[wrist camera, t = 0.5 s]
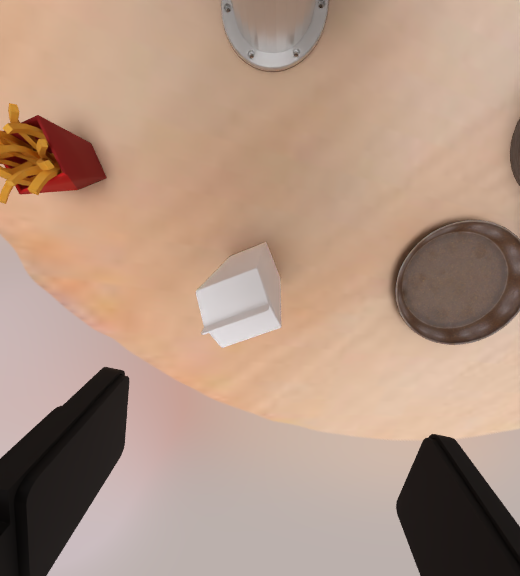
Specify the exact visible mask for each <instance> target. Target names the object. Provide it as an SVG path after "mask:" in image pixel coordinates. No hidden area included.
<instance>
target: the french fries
mask: <svg viewBox="0 0 520 576" xmlns="http://www.w3.org/2000/svg"><path fill="white" fill-rule="evenodd" d="M8 112H9V118H10V122H11V123H8V124H6V125H5V126H4V127H3V129H4V130H5V131H0V164H4V165H5V167H6V168H3V167H1V166H0V176H1V177H3V178H5V179H7V180H6V183H5V185H4V187H3V189H2V191H1V194H0V202H2V203H5V204H6V202H7V199H8V196H9V194H10V192H11V190H12V188H13V186H16V188H17V190H18V192H19V194H32V193H33V194H36V195H38V194H39V193H44V192H57V191H70V190H79V189H81V188H84V187H86V186H88V185H91V184H93V183H96V182H98V181H101V180H103V179H105V178H106V175H105V173H104V171H103V169H102V166H101V164H100V162H99V160H98V158H97V155H96V153H95V151H94V149H93V146H92V144H91V143H89V142H88V141H86V140H84V139H82V138H80V137H78V136H76V135H74V134H72V133H71V132H69V131H67V130H65V129H63V128H61V127H59V126H57V125H56V124H54V123H52V122H50V121H48V120H46V119H44V118H42V117H41V116H39V115H37V116H35V117H33V118H31V119H28V120H26V121H24V122H22V123H20V122H19V120H18V116H19V110H18V107H17V105H15V104H10V103H9V109H8Z"/></svg>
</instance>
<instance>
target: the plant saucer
mask: <svg viewBox="0 0 520 576" xmlns="http://www.w3.org/2000/svg"><path fill="white" fill-rule="evenodd" d="M396 301H397V306H398V309H399V312H400V314H401V316H402V318H403V320H404V321H405V323H406V324H407V325H408V326H409V327H410V328H411V329H412V330H413V331H414V332H416V333H417V334H418V335H420V336H422V337H423V338H425V339H428V340H430V341H433V342H436V343H441V344H449V345H458V344H466V343H472V342H475V341H479V340H481V339H484V338H487V337H489V336H491V335H493V334H494V333H496V332H498V331H499V330H501V329H502V328H503V327H505V326H506V325H507V324H508V323H509V322H510V321H511V320H512V319H513V318H514V317H515V316H516V315H517V314H518V312H519V311H520V239H519V238H518V237H517V236H516V235H515V234H514V233H512V232H511V231H510V230H508V229H507V228H505V227H503V226H500V225H498V224H495V223H492V222H488V221H481V220H467V221H460V222H456V223H452V224H449V225H446V226H444V227H441V228H439V229H437V230H435V231H434V232H432V233H430V234H429V235H427V236H426V237H425V238H424V239H422V240H421V241H420V242H419V243H418V244H417V245H416V246H415V247H414V248H413V249H412V250H411V251H410V253H409V254H408V256H407V257H406V259H405V260H404V262H403V264H402V266H401V268H400V271H399V274H398V277H397V282H396Z"/></svg>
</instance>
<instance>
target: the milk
mask: <svg viewBox="0 0 520 576" xmlns="http://www.w3.org/2000/svg"><path fill="white" fill-rule="evenodd" d="M196 296H197V300H198V304H199V308H200V312H201V316H202V320H203V324H204V329H203V330H202V332H201V334H202V335H204V334H207V333H209V334H210V335H211V336H212V337H213V338H214V339H215V341H216V342H217V343H218V344H219V345H220V346H221V347H222V348H223V347H226V346H229V345H232V344H235V343H238V342H241V341H244V340H247V339H250V338H253V337H255V336H258V335H261V334H264V333H267V332H270V331H273V330H276V329H279V328H281V278H280V275H279V273H278V270H277V268H276V265H275V263H274V260H273V258H272V255H271V253H270V250H269V247H268V245H267V242H264V243H262V244H259V245H257V246H254V247H252V248H249V249H247V250H244V251H242V252H239V253H237V254H234V255H232V256H229V258H228V259H227V260H226V261H225V262H224V263H223V264H222V265H221V266H220V267H219V268H218V269H217V270H216V271H215V272H214V273H213V274H212V275H211V276H210V277H209V278H208V279H207V280H206V281H205V282H204V283H203V284H202V285H201V286H200V287H199V288H198V289H197V290H196Z"/></svg>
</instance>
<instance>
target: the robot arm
mask: <svg viewBox="0 0 520 576" xmlns="http://www.w3.org/2000/svg"><path fill="white" fill-rule="evenodd" d="M320 6H321V7H322V8H319V7H320ZM227 11H230V12H228V13H227ZM327 11H328V0H222V1H221V12H222V20H223V25H224V29H225V32H226V35H227V38H228V40H229V42H230V44H231V46H232V48H233V49H234V50H235V52H236V53H237V54H238V56H239V57H240V58H242V59H243V60H244V61H245V62H246V63H248V64H249V65H251V66H253V67H255V68H257V69H261V70H264V71H280V70H285V69H287V68H290V67H293V66H294V65H296V64H298V63H299V62H301V61H302V60H303V59H304V58H305V57H306V56H307V55H309V53H310V52H311V51H312V49H313V48H314V47H315V46H316V44H317V42H318V40H319V38H320V36H321V34H322V31H323V28H324V25H325V21H326V17H327ZM295 54H297V55H298V57H295V56H294V55H295ZM250 56H254V58H252V59H251V58H250ZM128 391H129V377H128V376H125V373H124V371H122V370H118V369H113V368H108V367H104V368H102V369H101V370H100V371H99V372H98V373H97V374H96V375H95V376H94V377H93V378H92V379H90V380H89V381H88V382H87V383H86V384H85V385H84V386H83V387H82V388H81V389H80V390H79V391H78V392H77V393H76V394H75V395H74V396H72V397H71V398H70V399H69V400H68V401H67V402H66V403H65V404H64V405H63V406H60V407H57V408H55V409H54V410H53V411H52V412H51V413H49V414H48V415H47V416H46V417H45V418H44V419H43V420H42V421H41V422H40V423H39V424H37V425H36V426H35V427H34V428H33V429H32V430H31V431H30V432H29V433H28V434H27V435H26V436H24V437H23V438H22V439H21V440H20V441H19V442H18V443H17V444H16V445H15V446H14V447H12V448H11V450H9V451H8V452H7V453H6V454H5V455H4V456H3V457H2V458H1V459H0V576H46V575H47V574H48V572H49V570H50V569H51V567H52V566H53V564H54V563H55V561H56V559H57V558H58V556H59V554H60V553H61V551H62V550H63V548H64V547H65V545H66V543H67V542H68V540H69V538H70V537H71V535H72V533H73V532H74V530H75V529H76V527H77V526H78V524H79V522H80V521H81V519H82V518H83V516H84V514H85V513H86V511H87V510H88V508H89V506H90V505H91V503H92V502H93V500H94V498H95V497H96V495H97V493H98V492H99V490H100V489H101V487H102V486H103V484H104V482H105V481H106V479H107V478H108V476H109V474H110V473H111V471H112V469H113V468H114V466H115V464H116V463H117V461H118V460H119V458H120V456H121V454H122V452H123V449H124V445H125V432H126V419H127V405H128ZM396 509H397V514H398V517H399V520H400V522H401V525H402V528H403V530H404V533H405V536H406V538H407V541H408V544H409V546H410V549H411V552H412V554H413V557H414V559H415V562H416V565H417V568H418V570H419V572H420V576H520V527H519V525H518V524H517V523H516V521H515V520H514V518H513V517H512V516H511V514H510V513H509V512H508V510H507V509H506V508H505V506H504V505H503V504H502V502H501V501H500V499H499V498H498V497H497V495H496V494H495V493H494V491H493V490H492V489H491V487H490V486H489V485H488V483H487V482H486V481H485V479H484V478H483V476H482V475H481V474H480V473H479V471H478V470H477V468H476V467H475V466H474V464H473V463H472V462H471V460H470V459H469V458H468V456H467V455H466V453H465V452H464V451H463V449H462V448H461V447H460V445H459V444H458V443H457V441H456V440H455V439H453V438H451V437H446V436H441V435H436V434H432V435H430V436H429V438H425V439H424V440H423V442H422V444H421V447H420V449H419V451H418V454H417V456H416V458H415V461H414V463H413V465H412V468H411V470H410V472H409V474H408V477H407V479H406V481H405V484H404V486H403V488H402V490H401V493H400V495H399V497H398V500H397V504H396Z"/></svg>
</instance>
